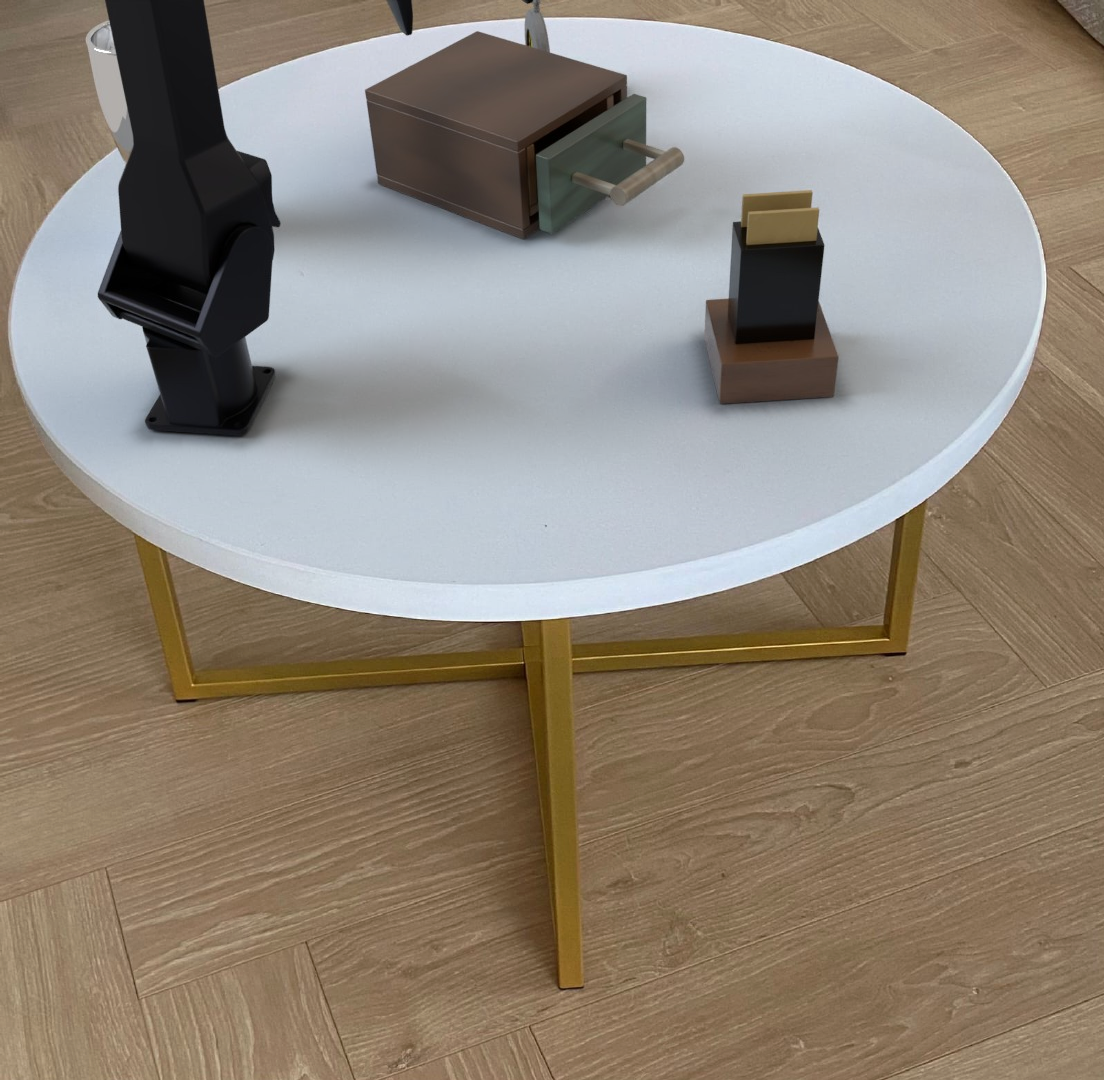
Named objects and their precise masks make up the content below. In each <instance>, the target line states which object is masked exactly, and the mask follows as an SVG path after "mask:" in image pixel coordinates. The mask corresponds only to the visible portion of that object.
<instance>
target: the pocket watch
mask: <svg viewBox="0 0 1104 1080" xmlns="http://www.w3.org/2000/svg"><path fill="white" fill-rule="evenodd" d="M541 2H542V0H533V2H532V3H531V4H532V5H533V8H530V9H528V10H527V11H526V12H525V15H524V45H526V46H530V47H533V48H536V49H540V50H543V51H546V52H550V53H551V47H550V41H549V36H548V35H549V34H548V30H547V25H546V23H545V19H544V16H543V14H542V12H541V7H540V4H541Z"/></svg>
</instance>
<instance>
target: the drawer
mask: <svg viewBox="0 0 1104 1080" xmlns="http://www.w3.org/2000/svg"><path fill="white" fill-rule="evenodd" d="M525 154H526V171H527V188H528V205H529V216H532V215H533V214H535V213H536V212H538V211H539V226H540V229H539V230H541V231H543V232H546V233H549V234H554V233H557V231H559V230H561V229H562V228H564V226H565V227H566V225H568V224H569V223H571V222H572V221H573V220H575V219H577V218H578V217H579V216H581V215H582V214H584V213H585V212H586V211H589V209H591V208H593V207H594V206H595V205H597V204H598V203H600V202H601V201H602V200H604V199H606V198H607V197H609V196H610V199H611V201H612V203H614V204H615V205H617V206H618V207H623V206H625V205H626V204H628V203H630V202H631V201H632V200H634V199H635V198H636V197H638V196H639V195H641V194H642V193H643V192H645V191H647V190H648V189H650V188H651V187H652V186H654V185H655V184H657V183H658V182H659V181H662V180H663V179H664V178H665V177H667V176H668V175H669V174H672V172H674V171H675V170H676V169H678V168H680V167H681V166H682V165H684V163H685V154H684V153H683V151H682V150H681V149H680V148H679V147H675V146H672V147H670V148H669V149H668V150H663V149H660V148H658V147H654V146H652V145H648V144H647V97H646V96H644V95H641V94H637V93H631V95H629V96H627V98H626V99H624V100H623V101H621V102H619V103H618V104H616V105H615V106H613V95H610V96H608V97H607V98H605V99H604V100H602V101H600V102H599V103H597V104H595V105H594V106H592V107H591V108H589V109H587V110H586V111H584V112H582V113H581V114H579V115H578V116H576V117H574V118H573V119H571V120H569V121H568V122H566V123H565V124H563V125H561V126H560V127H558V128H556V129H555V130H553V131H552V132H550V133H548V134H547V135H545V136H543V137H542V138H540V139H539V140H537V141H535V142H534V143H532V144H530V145H529V146H527V147H525ZM647 158H649V159H653V160H651V161H650V162H648V163H647Z"/></svg>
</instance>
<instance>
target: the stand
mask: <svg viewBox="0 0 1104 1080" xmlns="http://www.w3.org/2000/svg"><path fill="white" fill-rule="evenodd" d="M728 300H729V297H728V298H715V299H713V298H712V299H706V300H705V312H704V313H705V314H704V315H705V316H704V334H703V335H704V337H703V339H704V343H705V347H706V351H707V356H708V360H709V365H710V370H711V373H712V377H713V381H714V386H715V390H716V394H717V395H716V396H717V398H718V399H717V400H718V403H719V404H720V405H726V404H738V403H739V404H740V403H742V404H743V403H754V402H757V403H758V402H770V401H771V402H772V401H787V400H800V399H801V400H802V399H803V400H804V399H816V398H817V399H819V398H832V397H833V398H834V396H835V390H836V382H837V374H838V366H839V354H838V351H837V348H836V345H835V342H834V339H833V337H832V334H831V331H830V329H829V325H828V323H827V320H826V317H825V314H824V311H823V309H822V306H821V303H820V300H819V301H818V311H817V320H816V329H815V338H814V339H809V340H793V341H777V342H762V343H746V344H735V341H734V337H733V333H732V329H731V325H730V322H729V318H728Z"/></svg>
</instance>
